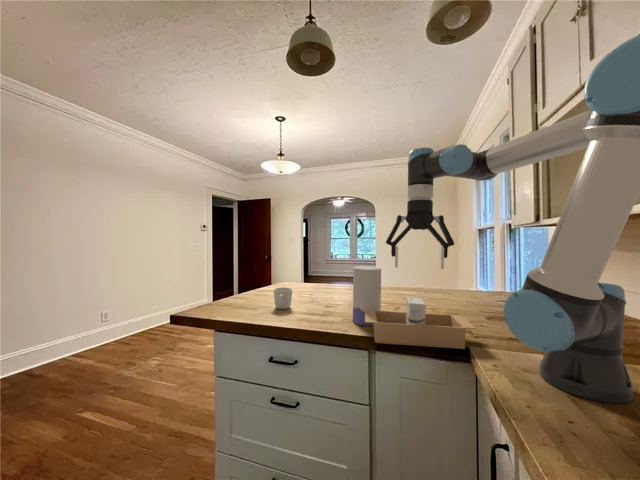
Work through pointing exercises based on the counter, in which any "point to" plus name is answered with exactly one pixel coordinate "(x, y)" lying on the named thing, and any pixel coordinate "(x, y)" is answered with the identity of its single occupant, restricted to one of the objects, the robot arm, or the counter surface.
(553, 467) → the counter surface
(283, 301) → the cup
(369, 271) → the container
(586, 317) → the robot arm
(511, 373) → the counter surface
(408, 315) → the ink box
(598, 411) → the counter surface
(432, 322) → the carton
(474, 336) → the counter surface
